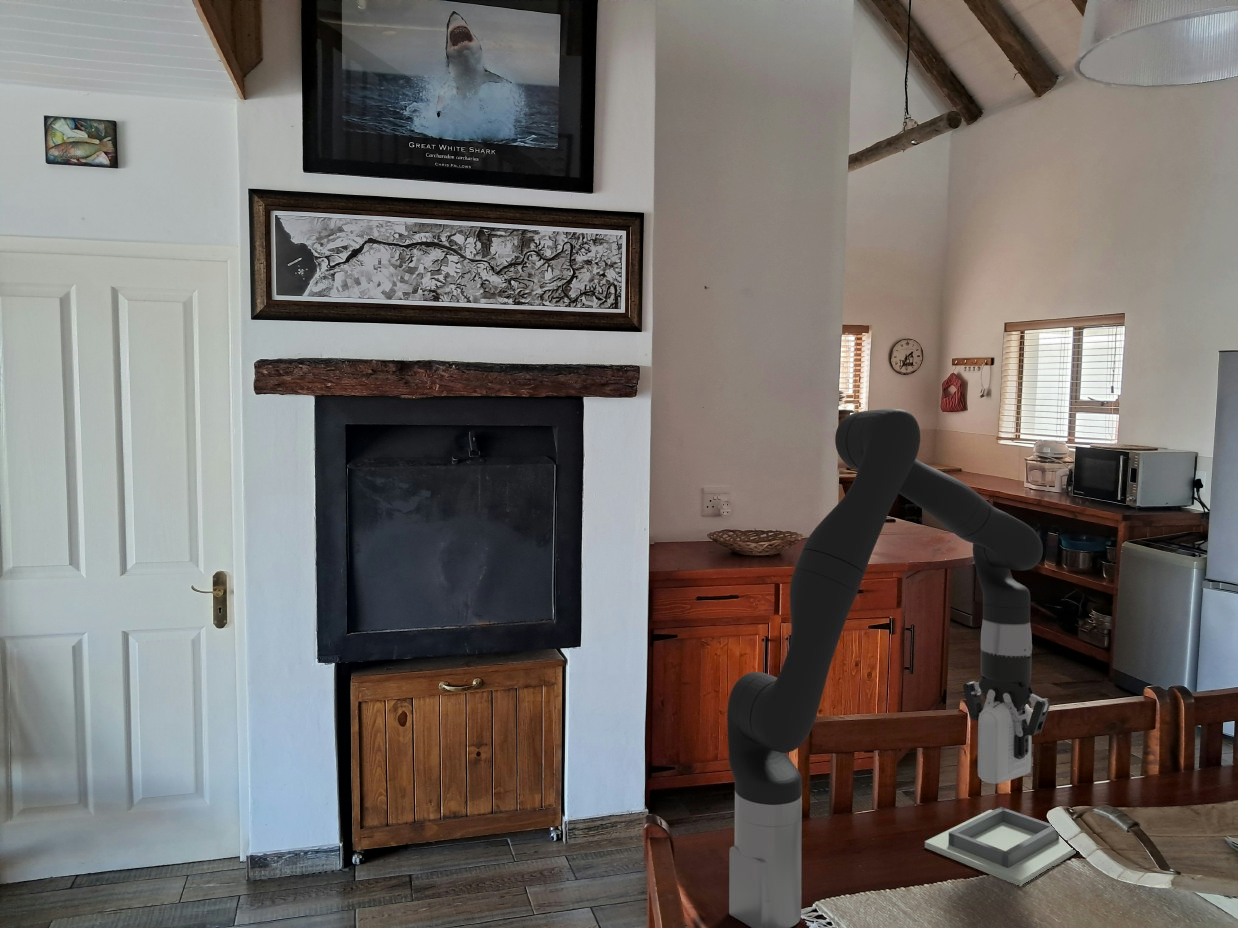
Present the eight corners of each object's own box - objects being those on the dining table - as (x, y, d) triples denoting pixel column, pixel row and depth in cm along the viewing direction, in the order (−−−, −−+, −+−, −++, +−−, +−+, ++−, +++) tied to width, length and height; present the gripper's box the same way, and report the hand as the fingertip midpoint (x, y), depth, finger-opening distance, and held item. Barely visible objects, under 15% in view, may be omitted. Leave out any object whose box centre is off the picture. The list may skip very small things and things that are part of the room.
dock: (1020, 886, 132) (1020, 866, 131) (924, 847, 144) (924, 829, 144) (1083, 847, 144) (1083, 829, 144) (990, 814, 156) (990, 798, 156)
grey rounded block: (1011, 765, 148) (1011, 691, 148) (1035, 773, 145) (1036, 698, 144) (973, 778, 143) (973, 702, 142) (997, 787, 139) (998, 709, 139)
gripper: (952, 643, 146) (951, 746, 147) (1038, 660, 135) (1036, 771, 136) (977, 637, 151) (976, 736, 151) (1061, 653, 140) (1060, 760, 140)
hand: (1004, 752), depth 143 cm, fingers closed on grey rounded block, 4 cm apart
